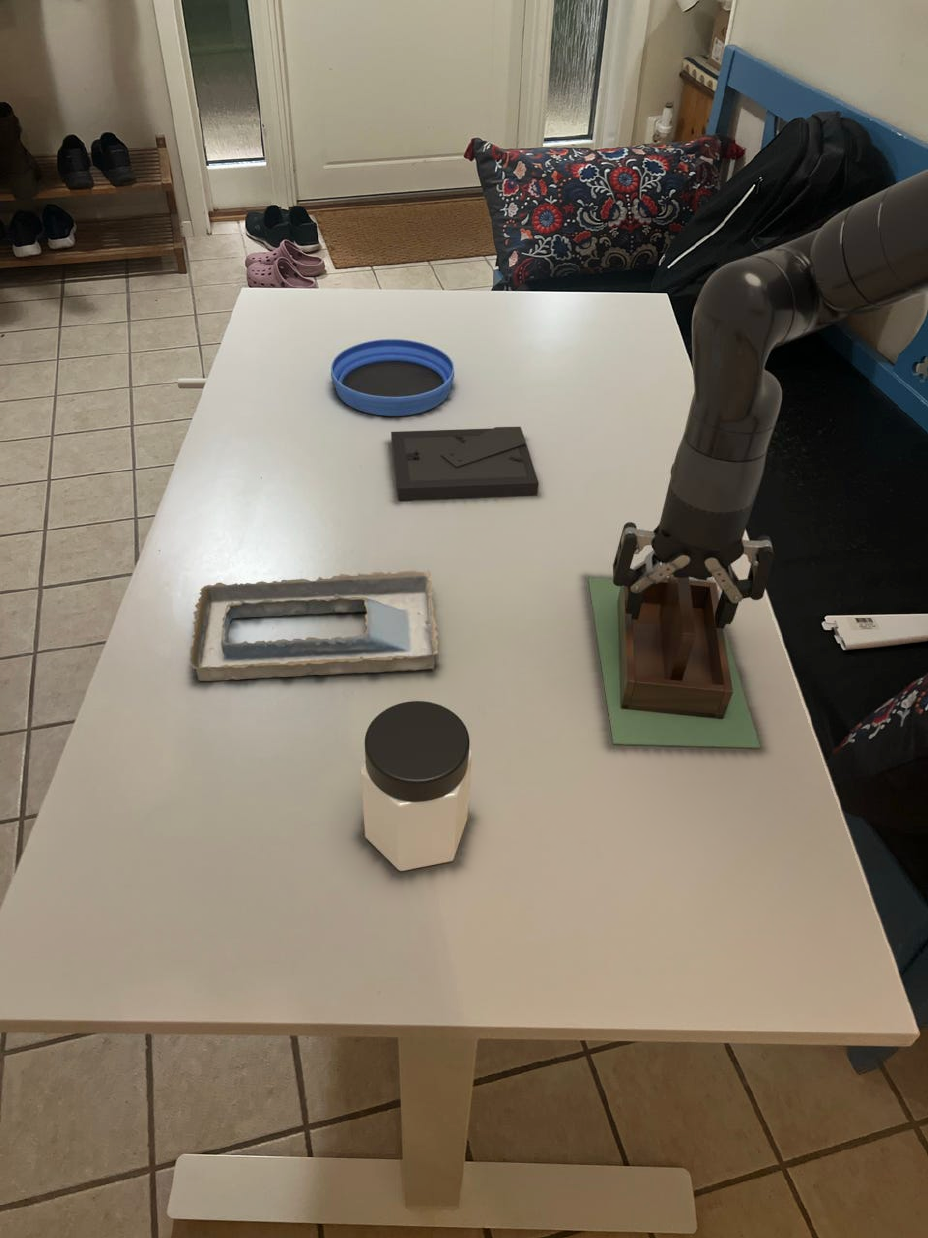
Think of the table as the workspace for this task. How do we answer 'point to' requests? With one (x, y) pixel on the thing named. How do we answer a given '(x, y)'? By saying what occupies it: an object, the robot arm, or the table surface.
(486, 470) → the picture frame
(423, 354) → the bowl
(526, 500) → the table surface
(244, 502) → the table surface
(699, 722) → the mat
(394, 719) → the jar
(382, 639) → the picture frame
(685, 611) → the cutlery caddy
